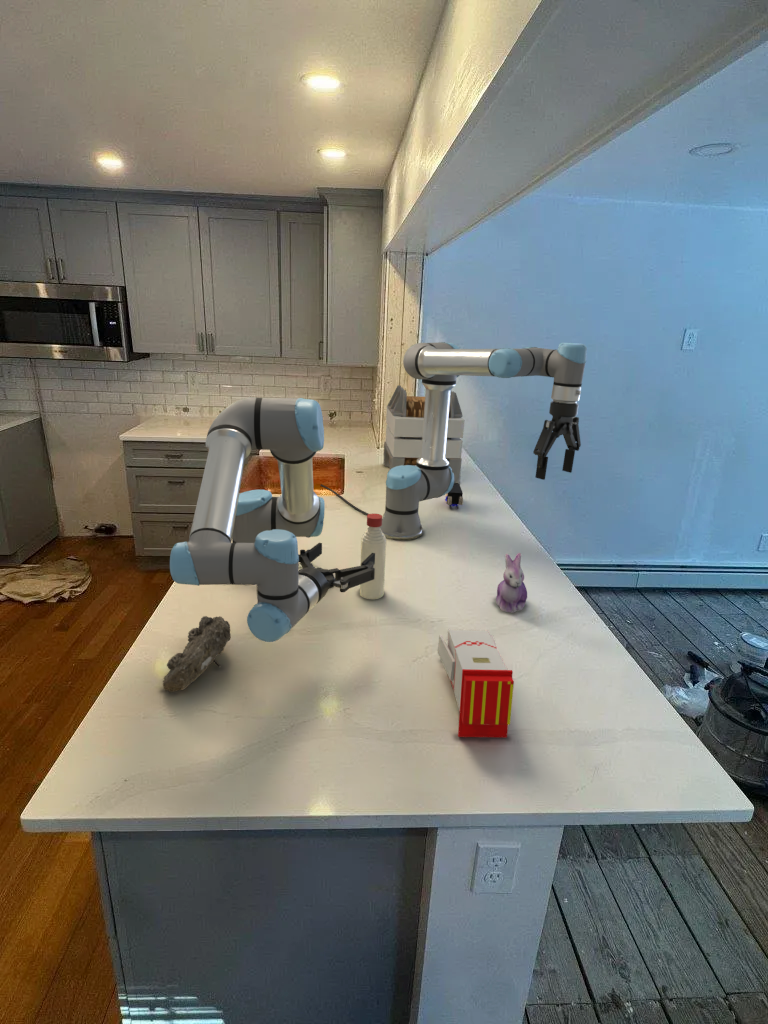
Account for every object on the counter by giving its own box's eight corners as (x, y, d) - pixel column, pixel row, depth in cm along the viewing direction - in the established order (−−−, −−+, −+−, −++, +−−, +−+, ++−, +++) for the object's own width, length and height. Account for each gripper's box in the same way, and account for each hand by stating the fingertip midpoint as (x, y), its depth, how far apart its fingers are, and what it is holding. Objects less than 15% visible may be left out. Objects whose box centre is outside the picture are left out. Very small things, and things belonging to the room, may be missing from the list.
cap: (372, 520, 153) (372, 512, 152) (385, 524, 151) (385, 515, 150) (363, 524, 150) (363, 516, 149) (376, 528, 148) (376, 519, 147)
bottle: (369, 585, 162) (371, 511, 154) (388, 592, 158) (392, 517, 151) (354, 594, 157) (356, 517, 149) (374, 601, 153) (377, 523, 145)
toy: (488, 613, 130) (523, 677, 101) (484, 667, 133) (517, 744, 104) (435, 612, 130) (455, 676, 101) (432, 666, 133) (451, 743, 103)
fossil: (186, 619, 132) (231, 589, 127) (214, 646, 135) (260, 618, 130) (141, 685, 113) (192, 653, 108) (176, 716, 116) (227, 686, 111)
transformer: (382, 463, 289) (386, 382, 275) (445, 464, 293) (451, 384, 279) (390, 482, 257) (394, 392, 243) (460, 483, 261) (468, 394, 247)
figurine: (509, 617, 148) (516, 565, 143) (485, 599, 156) (491, 550, 151) (537, 610, 152) (544, 559, 147) (512, 593, 161) (519, 544, 156)
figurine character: (463, 514, 226) (458, 498, 239) (465, 496, 223) (460, 481, 236) (446, 513, 226) (442, 497, 239) (448, 496, 222) (444, 481, 236)
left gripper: (251, 595, 120) (299, 558, 138) (359, 620, 112) (395, 577, 131) (249, 562, 117) (299, 529, 136) (361, 586, 109) (397, 547, 128)
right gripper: (550, 406, 147) (539, 485, 154) (600, 400, 162) (588, 471, 170) (526, 402, 152) (517, 478, 159) (577, 396, 168) (566, 465, 175)
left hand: (346, 553), depth 133 cm, fingers open, 13 cm apart
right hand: (553, 475), depth 164 cm, fingers open, 13 cm apart
